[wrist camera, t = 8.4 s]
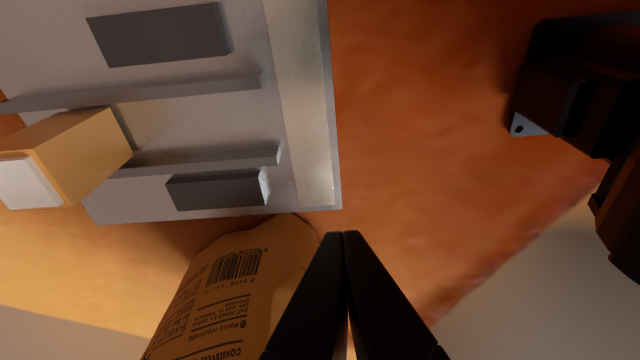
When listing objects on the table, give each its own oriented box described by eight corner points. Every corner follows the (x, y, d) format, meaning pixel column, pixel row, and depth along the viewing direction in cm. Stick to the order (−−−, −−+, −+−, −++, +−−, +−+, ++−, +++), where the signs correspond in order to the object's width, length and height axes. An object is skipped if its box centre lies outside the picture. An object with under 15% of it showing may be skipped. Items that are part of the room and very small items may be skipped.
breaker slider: (109, 107, 16) (26, 152, 11) (134, 155, 18) (69, 211, 13) (58, 112, 16) (-43, 158, 12) (87, 159, 18) (8, 215, 13)
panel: (323, -44, 14) (322, -52, 11) (341, 192, 22) (343, 220, 19) (-18, 0, 15) (-91, 3, 13) (113, 208, 23) (84, 237, 20)
